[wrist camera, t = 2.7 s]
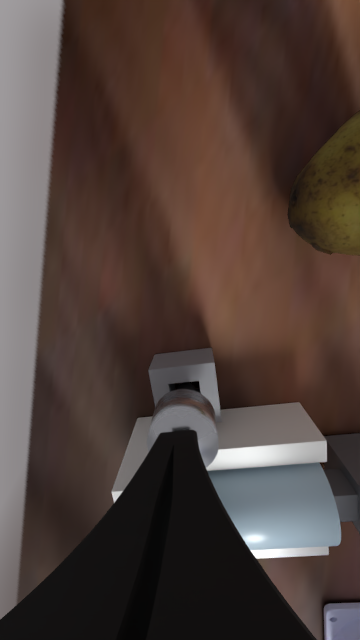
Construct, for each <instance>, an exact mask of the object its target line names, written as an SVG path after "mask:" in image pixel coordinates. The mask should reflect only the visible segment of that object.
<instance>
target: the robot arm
mask: <svg viewBox="0 0 360 640" xmlns="http://www.w3.org/2000/svg"><path fill="white" fill-rule="evenodd" d="M324 637H325V640H360V602H359V603H330V604H327V605H325V606H324ZM0 640H317V639H316V638H315V637H314V636H313V635H312V633H311V632H310V631H309V630H308V628H307V627H306V626H305V624H304V623H303V622H302V621H301V619H300V618H299V617H298V616H297V614H296V613H295V612H294V610H293V609H292V608H291V607H290V605H289V604H288V603H287V601H286V600H285V599H284V597H283V596H282V594H281V593H280V592H279V590H278V589H277V588H276V586H275V585H274V584H273V582H272V581H271V580H270V578H269V577H268V575H267V574H266V572H265V571H264V569H263V568H262V566H261V565H260V564H259V562H258V561H257V559H256V558H255V556H254V555H253V553H252V552H251V550H250V549H249V547H248V546H247V544H246V543H245V541H244V540H243V538H242V536H241V535H240V533H239V532H238V530H237V528H236V527H235V525H234V523H233V521H232V520H231V518H230V516H229V515H228V513H227V511H226V509H225V507H224V505H223V504H222V502H221V500H220V498H219V496H218V494H217V492H216V490H215V488H214V486H213V483H212V481H211V479H210V477H209V474H208V472H207V469H206V467H205V464H204V462H203V459H202V456H201V453H200V450H199V444H198V437H197V432H196V431H195V430H184V431H174V432H163V433H160V434H159V435H158V437H157V439H156V441H155V442H154V444H153V446H152V448H151V449H150V451H149V453H148V454H147V456H146V457H145V459H144V461H143V462H142V464H141V465H140V467H139V468H138V470H137V471H136V473H135V475H134V476H133V478H132V479H131V480H130V482H129V483H128V485H127V486H126V487H125V489H124V490H123V492H122V493H121V494H120V496H119V497H118V498H117V500H116V501H115V503H114V504H113V505H112V506H111V508H110V509H109V510H108V511H107V513H106V514H105V515H104V516H103V518H102V519H101V520H100V521H99V522H98V524H97V525H96V526H95V527H94V528H93V529H92V531H91V532H90V533H89V534H88V535H87V536H86V537H85V538H84V540H83V541H82V542H81V543H80V544H79V545H78V546H77V547H76V548H75V549H74V550H73V551H72V552H71V553H70V555H69V556H68V557H67V558H66V559H65V560H64V561H63V562H62V563H61V564H60V565H59V566H58V567H57V568H56V569H55V570H54V571H53V572H52V573H51V574H50V575H49V576H48V577H47V578H46V579H45V580H44V581H42V582H41V583H40V584H39V585H38V586H37V587H36V588H35V589H34V590H33V591H32V592H31V593H30V594H29V595H27V596H26V597H25V598H24V599H23V600H22V601H21V602H20V603H19V604H18V605H16V606H15V607H14V608H13V609H12V610H11V611H10V612H9V613H7V614H6V615H5V616H4V617H3V618H2V619H1V620H0Z"/></svg>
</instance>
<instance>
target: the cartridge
mask: <svg viewBox="0 0 360 640" xmlns="http://www.w3.org/2000/svg"><path fill="white" fill-rule="evenodd" d="M324 438H325V439H326V440H327V462H324V470H323V469H322V467H321V465H320V463H319V462H317V463H304V464H291V465H278V466H265V467H252V468H239V469H226V470H213V471H207V472H208V474H209V477H210V479H211V481H212V483H213V486H214V488H215V490H216V492H217V494H218V496H219V498H220V500H221V502H222V504H223V505H224V507H225V509H226V511H227V513H228V515H229V516H230V518H231V520H232V521H233V523H234V525H235V527H236V528H237V530H238V532H239V533H240V535H241V536H242V538H243V540H244V541H245V543H246V544H247V546H248V547H249V549H250V550H266V549H286V548H306V547H325V546H338V545H339V544H340V542H341V526H340V522H348V521H352V522H353V524H354V525H355V527H356V529H357V530H358V532H359V534H360V433H355V434H344V435H332V436H324Z"/></svg>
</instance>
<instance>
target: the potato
mask: <svg viewBox="0 0 360 640" xmlns="http://www.w3.org/2000/svg"><path fill="white" fill-rule="evenodd" d="M288 219H289V224H290V227H291V228H293V229H294V231H295V232H296V233H297V234H298V235H299V236H300V237H301V238H302V239H304V240H305V241H306V242H308V243H309V244H311V245H312V246H313V247H314V248H315V249H316V250H318V251H321V252H324V253H328V254H332V253H340V254H346V255H358V256H360V111H359V112H357V113H356V114H355V115H354V116H352V117H351V118H350V119H349V120H348V121H347V122H345V123H344V124H343V125H342V126H341V127H340V128H339V129H338V130H337V132H336V133H335V134H334V135H333V136H332V137H331V138H330V139H329V140H328V141H327V142H326V143H325V144H324V145H323V146H322V147H321V148H320V149H319V150H318V151H317V152H316V153H315V155H314V156H313V157H312V159H311V160H310V161H309V163H308V164H307V165H306V166H305V167H304V168H303V170H302V171H301V172H300V173H299V175H298V176H297V177H296V179H295V181H294V184H293V186H292V188H291V193H290V201H289V208H288Z"/></svg>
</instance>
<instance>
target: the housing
mask: <svg viewBox="0 0 360 640" xmlns="http://www.w3.org/2000/svg"><path fill="white" fill-rule="evenodd" d="M148 371H149V377H150V382H151V387H152V393H153V398H154V403H155V407H156V404H157V402H158V401H159V400H160V399H161V398H162V397H163V396H164V395H165V394H167V393H168V392H171V391H174V390H176V389H175V383H183V382H192V381H199V385H200V388H197V389H195V391H197V392H199V393H201V394H202V395H204V396H205V397H206V398H207V399H208V400H209V401H210V402H211V404H212V406H213V408H214V411H215V418H216V425H217V433H218V441H219V448H218V453H217V455H216V457H215V459H214V461H213V462H212V463H211V464H210V465H209V466H208V467H206V469H207V471H213V470H226V469H239V468H252V467H265V466H278V465H291V464H304V463H317V462H327V440H326V439H325V438H324V436H323V435H322V433H321V432H320V431H319V429H318V428H317V426H316V425H315V424H314V422H313V421H312V419H311V418H310V417H309V415H308V414H307V412H306V411H305V410H304V408H303V407H302V405H301V404H300V402H295V403H285V404H274V405H264V406H254V407H243V408H233V409H223V410H220V403H219V395H218V387H217V379H216V371H215V363H214V357H213V352H212V348H204V349H196V350H187V351H179V352H170V353H162V354H155V355H154V357H153V360H152V362H151V365H150V367H149V369H148ZM152 417H153V416H151V417H140V418H137V421H136V424H135V427H134V429H133V432H132V435H131V438H130V441H129V444H128V446H127V449H126V452H125V455H124V458H123V461H122V463H121V466H120V469H119V472H118V475H117V478H116V480H115V483H114V486H113V489H112V496H113V500H114V503H115V501H116V500H117V498H118V497H119V496H120V494H121V493H122V492H123V490H124V489H125V487H126V486H127V485H128V483H129V482H130V480H131V479H132V478H133V476H134V475H135V473H136V471H137V470H138V468H139V467H140V465H141V464H142V462H143V461H144V459H145V457H146V456H147V454H148V453H149V451H148V448H147V437H148V433H149V429H150V425H151V421H152ZM251 552H252V553H253V555H254V556H255V558H277V557H298V556H319V555H329V546H325V547H306V548H286V549H266V550H251Z"/></svg>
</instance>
